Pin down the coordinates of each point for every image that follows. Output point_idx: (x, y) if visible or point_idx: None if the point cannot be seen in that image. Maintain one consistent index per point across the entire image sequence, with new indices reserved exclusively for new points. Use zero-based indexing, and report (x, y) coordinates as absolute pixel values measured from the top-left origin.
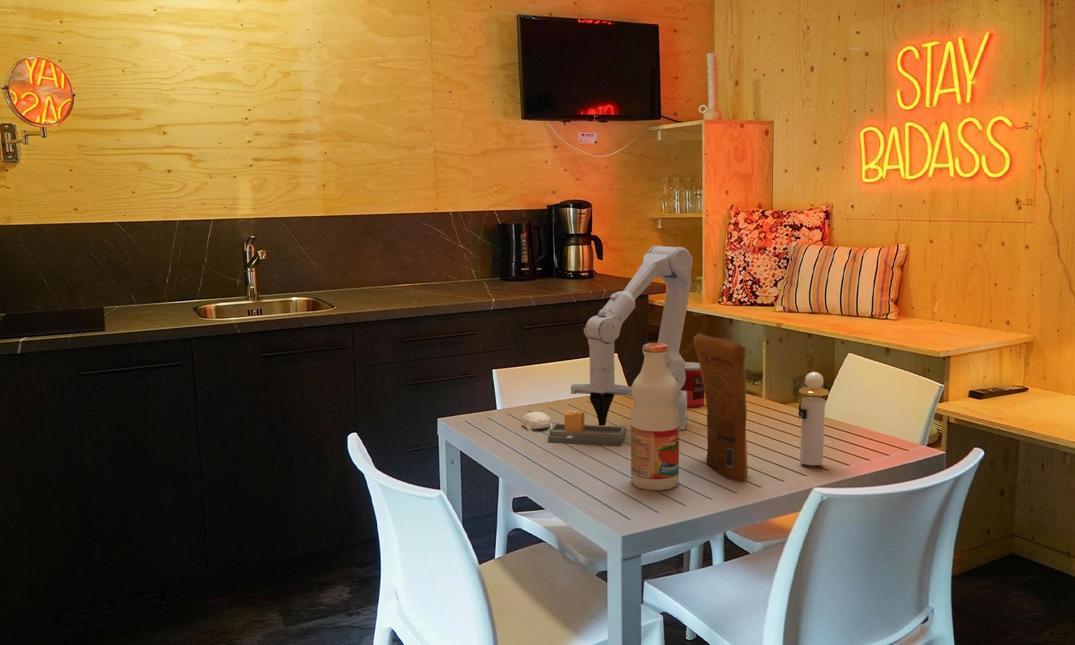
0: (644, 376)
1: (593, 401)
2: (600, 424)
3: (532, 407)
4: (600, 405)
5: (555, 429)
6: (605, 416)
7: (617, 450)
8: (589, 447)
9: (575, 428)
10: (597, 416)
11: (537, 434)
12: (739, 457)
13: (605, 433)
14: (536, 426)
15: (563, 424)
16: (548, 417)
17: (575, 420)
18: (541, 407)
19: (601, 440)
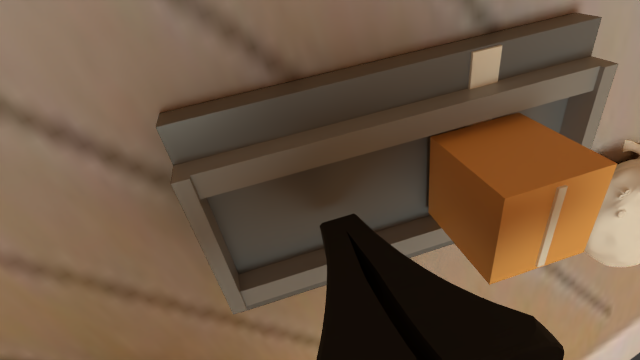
0: None
1: (498, 323)
2: (347, 219)
3: (596, 334)
4: (406, 329)
5: None
6: (328, 264)
7: (126, 13)
8: (336, 6)
9: (480, 141)
10: (387, 243)
11: (611, 115)
12: None
13: (287, 162)
14: (631, 162)
15: None
16: (600, 239)
17: (516, 166)
18: (573, 345)
19: (286, 93)
